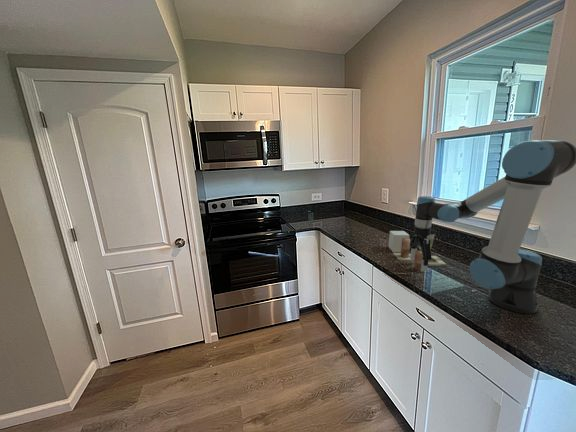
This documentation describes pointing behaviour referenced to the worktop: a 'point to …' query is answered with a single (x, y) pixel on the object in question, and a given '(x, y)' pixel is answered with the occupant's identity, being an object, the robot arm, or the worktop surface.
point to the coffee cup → (430, 237)
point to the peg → (418, 260)
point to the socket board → (436, 262)
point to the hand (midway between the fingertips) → (418, 265)
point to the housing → (396, 240)
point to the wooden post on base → (404, 250)
